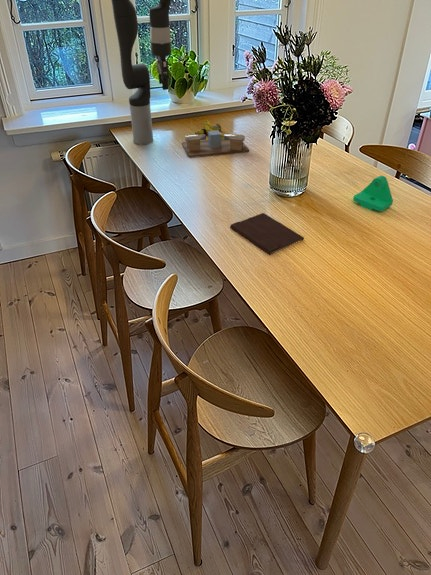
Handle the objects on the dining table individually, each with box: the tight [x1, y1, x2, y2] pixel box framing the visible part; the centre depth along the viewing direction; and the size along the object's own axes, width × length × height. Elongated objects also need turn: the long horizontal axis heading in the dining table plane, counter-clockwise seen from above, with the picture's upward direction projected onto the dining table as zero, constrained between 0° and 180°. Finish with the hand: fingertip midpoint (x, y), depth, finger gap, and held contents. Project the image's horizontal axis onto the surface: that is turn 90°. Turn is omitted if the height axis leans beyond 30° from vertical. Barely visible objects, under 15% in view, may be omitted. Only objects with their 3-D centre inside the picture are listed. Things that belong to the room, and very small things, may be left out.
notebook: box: [230, 212, 305, 256], centre depth 148 cm, size 15×20×2 cm
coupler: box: [207, 130, 222, 148], centre depth 203 cm, size 5×5×6 cm
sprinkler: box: [194, 119, 225, 139], centre depth 219 cm, size 19×4×15 cm
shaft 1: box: [184, 134, 207, 142], centre depth 201 cm, size 2×9×2 cm, turn 104°
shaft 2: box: [223, 133, 246, 142], centre depth 201 cm, size 2×9×2 cm, turn 79°
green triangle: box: [352, 175, 394, 212], centre depth 161 cm, size 12×8×10 cm, turn 44°
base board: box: [181, 133, 250, 158], centre depth 204 cm, size 16×28×6 cm, turn 104°
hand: (163, 86), depth 176 cm, fingers open, 8 cm apart
